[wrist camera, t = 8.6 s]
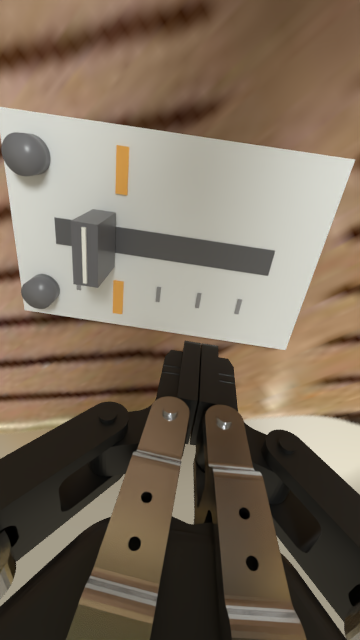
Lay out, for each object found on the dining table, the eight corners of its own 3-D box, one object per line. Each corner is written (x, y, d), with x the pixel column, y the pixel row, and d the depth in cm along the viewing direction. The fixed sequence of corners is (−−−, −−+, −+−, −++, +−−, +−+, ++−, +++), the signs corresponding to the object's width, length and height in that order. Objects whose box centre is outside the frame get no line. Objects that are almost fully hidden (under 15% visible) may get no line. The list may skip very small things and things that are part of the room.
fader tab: (93, 208, 27) (69, 221, 22) (115, 212, 27) (97, 225, 22) (93, 263, 29) (72, 285, 24) (114, 267, 29) (97, 288, 24)
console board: (11, 109, 26) (-19, 103, 22) (344, 158, 25) (365, 160, 22) (34, 301, 34) (15, 318, 31) (281, 339, 34) (289, 360, 31)
